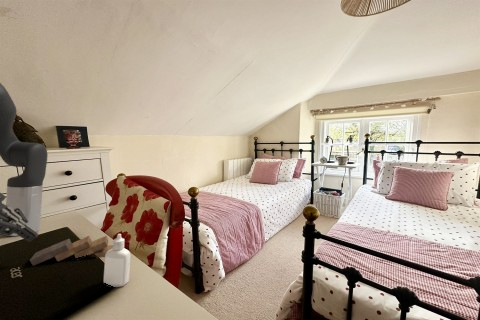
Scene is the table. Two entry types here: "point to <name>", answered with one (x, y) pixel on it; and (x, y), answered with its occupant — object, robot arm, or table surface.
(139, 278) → the table surface
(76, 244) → the domino
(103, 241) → the domino
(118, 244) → the eye dropper bottle
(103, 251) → the domino
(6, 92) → the robot arm
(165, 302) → the table surface
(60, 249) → the loose domino
